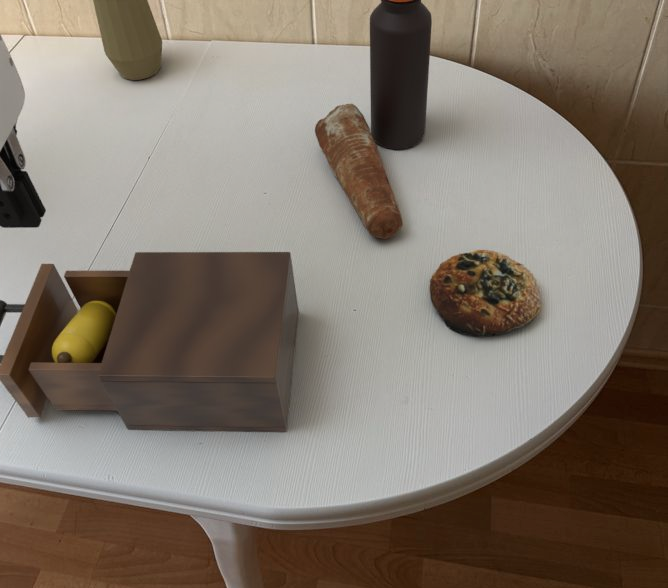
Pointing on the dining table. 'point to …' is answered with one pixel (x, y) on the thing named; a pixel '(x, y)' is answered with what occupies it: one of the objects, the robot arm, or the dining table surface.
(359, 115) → the bread
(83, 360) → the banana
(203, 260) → the cabinet
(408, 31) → the vinegar
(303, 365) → the dining table surface
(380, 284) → the dining table surface
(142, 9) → the squeeze bottle
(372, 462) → the dining table surface
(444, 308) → the bread roll
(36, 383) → the drawer
